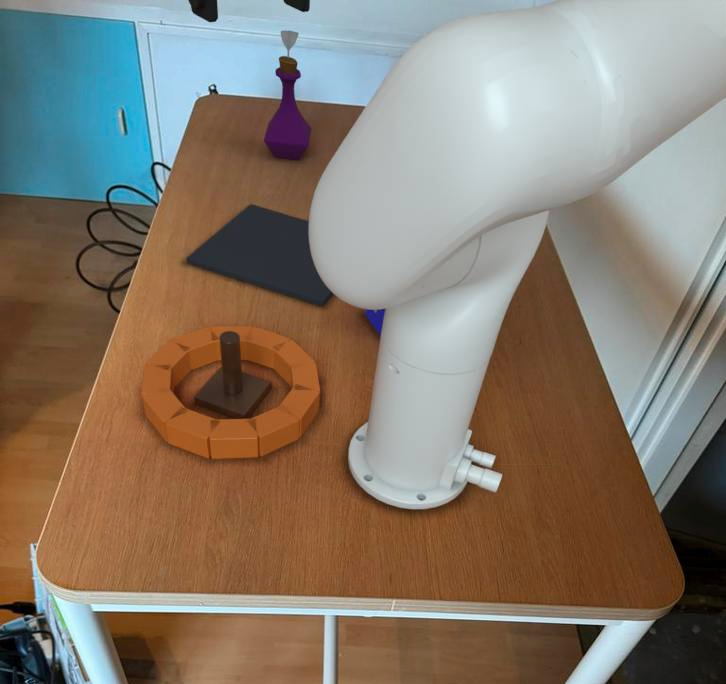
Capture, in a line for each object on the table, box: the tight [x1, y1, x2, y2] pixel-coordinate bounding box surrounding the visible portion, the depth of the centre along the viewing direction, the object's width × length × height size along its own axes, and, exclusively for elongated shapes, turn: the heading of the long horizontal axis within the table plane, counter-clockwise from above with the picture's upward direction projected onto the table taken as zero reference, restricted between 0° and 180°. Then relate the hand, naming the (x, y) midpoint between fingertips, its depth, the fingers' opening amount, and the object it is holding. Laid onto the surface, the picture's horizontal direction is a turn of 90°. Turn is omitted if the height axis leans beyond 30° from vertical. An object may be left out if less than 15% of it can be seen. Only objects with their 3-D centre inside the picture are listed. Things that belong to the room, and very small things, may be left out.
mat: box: [185, 203, 334, 307], centre depth 89 cm, size 20×18×1 cm
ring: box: [140, 325, 321, 460], centre depth 69 cm, size 18×18×3 cm
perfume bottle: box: [263, 30, 312, 161], centre depth 104 cm, size 8×8×18 cm
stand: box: [193, 331, 272, 419], centre depth 67 cm, size 6×6×8 cm
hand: (252, 12), depth 56 cm, fingers open, 9 cm apart
